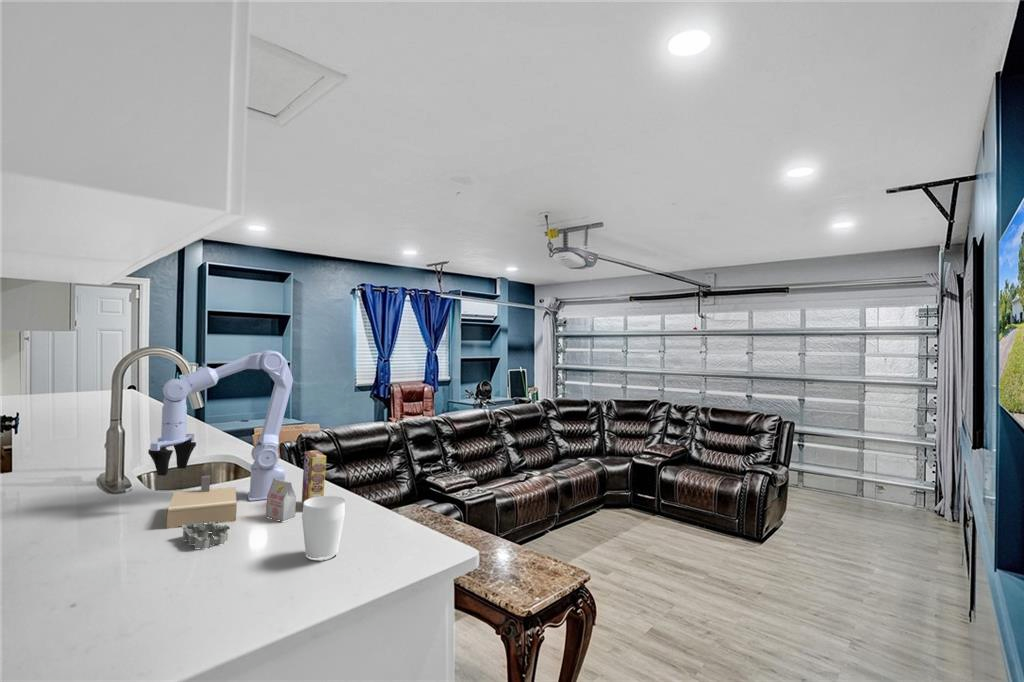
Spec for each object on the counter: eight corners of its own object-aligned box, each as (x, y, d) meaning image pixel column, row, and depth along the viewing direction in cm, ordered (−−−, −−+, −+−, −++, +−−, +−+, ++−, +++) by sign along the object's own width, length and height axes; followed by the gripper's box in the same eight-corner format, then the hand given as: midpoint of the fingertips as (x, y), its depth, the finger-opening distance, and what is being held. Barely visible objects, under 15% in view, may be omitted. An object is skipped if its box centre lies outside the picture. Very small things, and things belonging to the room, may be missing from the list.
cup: (324, 567, 108) (326, 510, 108) (290, 559, 111) (293, 504, 111) (351, 551, 116) (354, 499, 116) (319, 544, 119) (322, 493, 120)
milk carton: (278, 513, 139) (280, 477, 139) (294, 518, 136) (296, 481, 136) (266, 517, 136) (268, 480, 136) (282, 522, 133) (284, 484, 133)
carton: (235, 503, 147) (235, 489, 147) (235, 520, 133) (236, 505, 133) (172, 509, 139) (173, 494, 139) (166, 528, 125) (167, 512, 125)
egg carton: (231, 544, 118) (232, 526, 118) (194, 553, 113) (195, 534, 113) (214, 531, 125) (214, 515, 125) (179, 539, 120) (180, 522, 120)
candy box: (324, 509, 144) (326, 455, 144) (308, 512, 142) (311, 457, 142) (316, 501, 151) (318, 449, 152) (301, 503, 149) (303, 451, 149)
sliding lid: (235, 488, 147) (236, 473, 147) (236, 504, 133) (237, 487, 133) (173, 494, 139) (174, 477, 139) (168, 511, 125) (168, 493, 125)
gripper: (178, 418, 148) (176, 464, 148) (140, 426, 134) (137, 477, 134) (201, 419, 148) (200, 465, 148) (165, 427, 134) (163, 479, 133)
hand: (172, 471), depth 141 cm, fingers open, 7 cm apart
